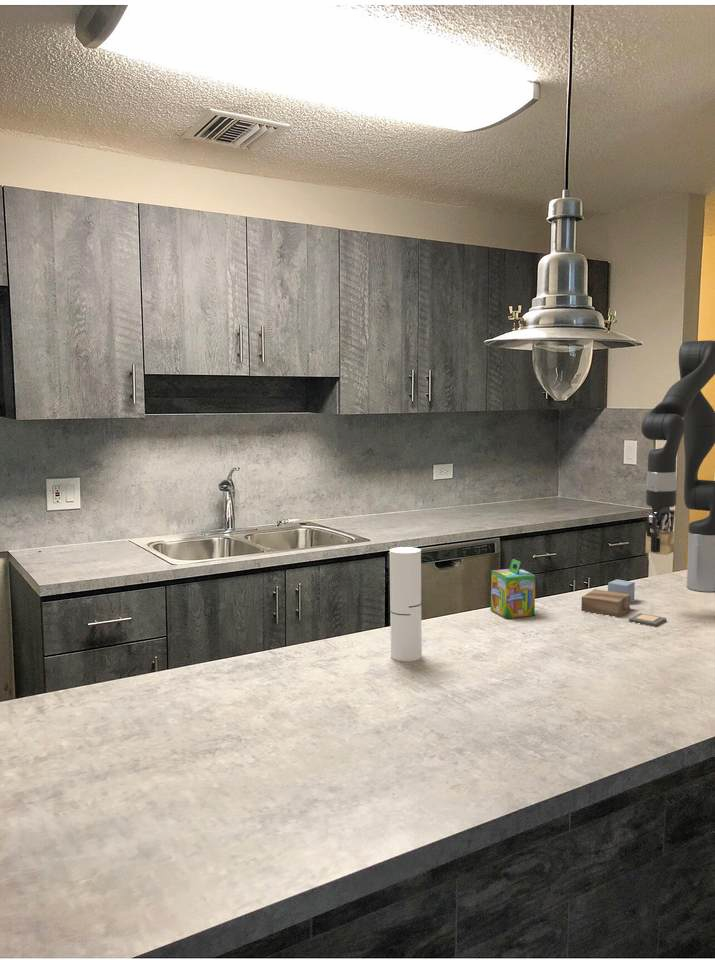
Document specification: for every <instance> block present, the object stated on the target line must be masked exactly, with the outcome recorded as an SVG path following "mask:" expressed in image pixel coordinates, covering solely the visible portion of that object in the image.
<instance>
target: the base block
mask: <svg viewBox="0 0 715 960" xmlns="http://www.w3.org/2000/svg"><path fill="white" fill-rule="evenodd" d="M628 609H629V610H630V609H631V602H630V594H625V593H618V592H611V591H608V590H604V589H603V590H601V589H596V588H594V589H593V590H591V591H589V592H588V593H586V594H584V595H582V596H581V611H585V612H584V613H587V612H591V613H590V614H593V613H596V614H595V615H599V614H603V615H602V616H605V615H609V616H608V617H612V616H615V617H614V618H619V617H620V615H621V614H622V615H623V614H625V613H626V612H628V611H629V610H628ZM627 610H628V611H627ZM581 611H580V612H581ZM625 611H626V612H625ZM624 612H625V613H624ZM618 616H619V617H618Z"/></svg>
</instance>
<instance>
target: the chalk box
mask: <svg viewBox="0 0 715 960" xmlns="http://www.w3.org/2000/svg"><path fill="white" fill-rule="evenodd" d="M515 565H516V568H514V566H515ZM521 566H522V562H521V561H520V560H517V559H514V558H513V559H512V560H511V561H510V566H509V568H506V569H494V570H492V569H491V576H490V577H491V578H490V580H491V582H490V583H491V585H490V586H491V587H490V611H492V612H494V613H495V614H498V615H499V616H501V617H502V618H503V619H505V620H507V619H513V618H515V619H516V618H525V617H526V618H527V617H534V616H536V615H535V614H536V613H535V611H536V609H535V608H536V607H535V606H536V605H535V604H536V602H535V601H536V580H537V579H536V575H535V574H534V573H532V572H529V571H527V570H525V569H523V568H521Z"/></svg>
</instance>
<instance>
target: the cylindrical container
mask: <svg viewBox="0 0 715 960" xmlns="http://www.w3.org/2000/svg"><path fill="white" fill-rule="evenodd" d="M389 595H390V596H389V599H390V600H389V604H390V607H389V608H390V609H389V610H390V619H389V620H390V657H392V658H391V659H393V660H394V659H395V661H397V662H398V661H399V662H415V661H419V660H420V659H421V658H422V655H423V653H422V652H423V651H422V650H423V649H422V644H423V643H422V640H423V639H422V549H421V548H418V547H413V546H402V547H401V546H399V547H394V548H390V549H389Z"/></svg>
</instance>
